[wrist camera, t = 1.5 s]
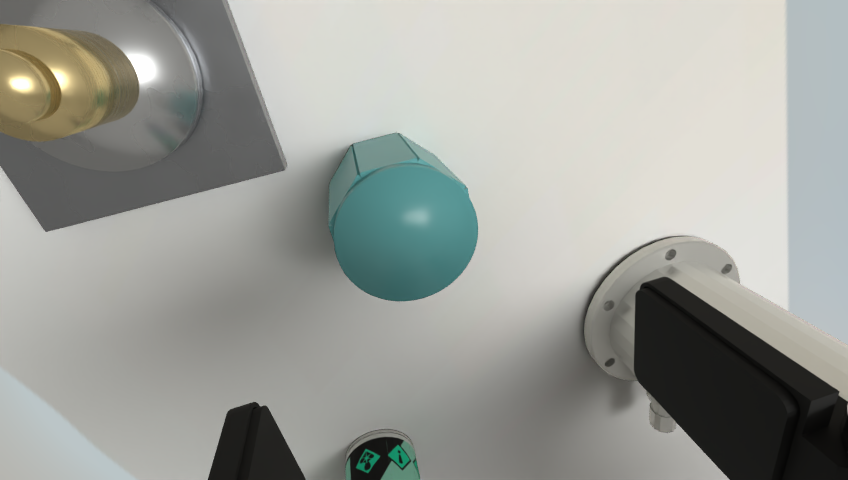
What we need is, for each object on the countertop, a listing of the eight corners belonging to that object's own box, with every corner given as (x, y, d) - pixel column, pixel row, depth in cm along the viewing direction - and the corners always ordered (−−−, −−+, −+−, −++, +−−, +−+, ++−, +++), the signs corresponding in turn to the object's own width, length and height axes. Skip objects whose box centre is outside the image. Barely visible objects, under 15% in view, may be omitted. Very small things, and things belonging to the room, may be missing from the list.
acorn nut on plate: (287, 164, 23) (267, 213, 16) (59, 223, 22) (-69, 303, 15) (187, -108, 18) (93, -212, 11) (-119, -49, 16) (-449, -122, 10)
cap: (450, 225, 26) (487, 279, 20) (351, 252, 26) (357, 317, 20) (429, 124, 24) (465, 150, 17) (318, 152, 23) (313, 190, 17)
